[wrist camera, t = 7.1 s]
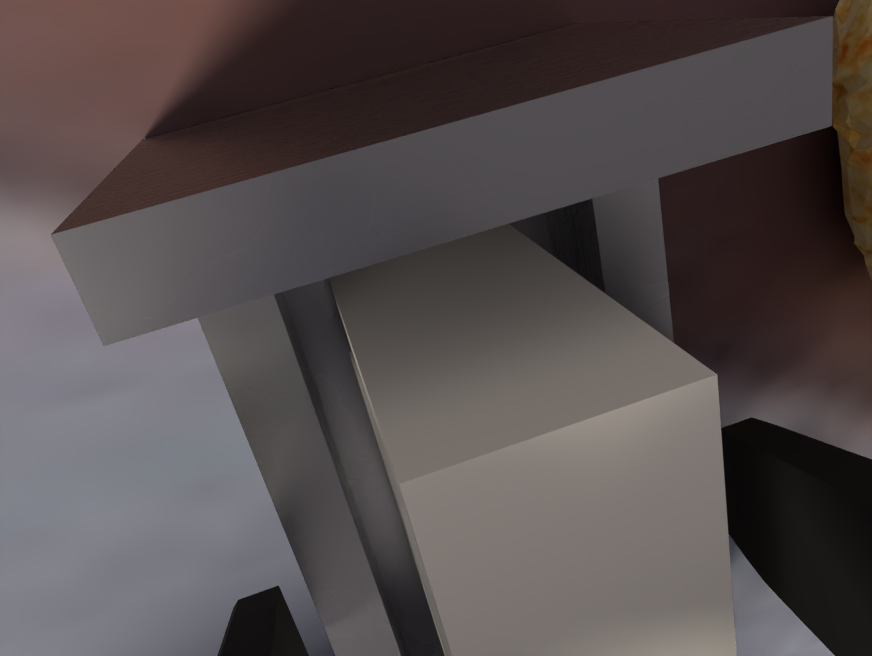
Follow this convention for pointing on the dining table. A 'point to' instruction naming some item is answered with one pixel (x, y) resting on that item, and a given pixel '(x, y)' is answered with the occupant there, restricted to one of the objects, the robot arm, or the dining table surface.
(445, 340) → the cream rectangular block
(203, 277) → the grey metal bracket
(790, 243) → the dining table surface
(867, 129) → the croissant
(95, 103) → the dining table surface
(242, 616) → the robot arm
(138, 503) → the dining table surface
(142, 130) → the dining table surface
